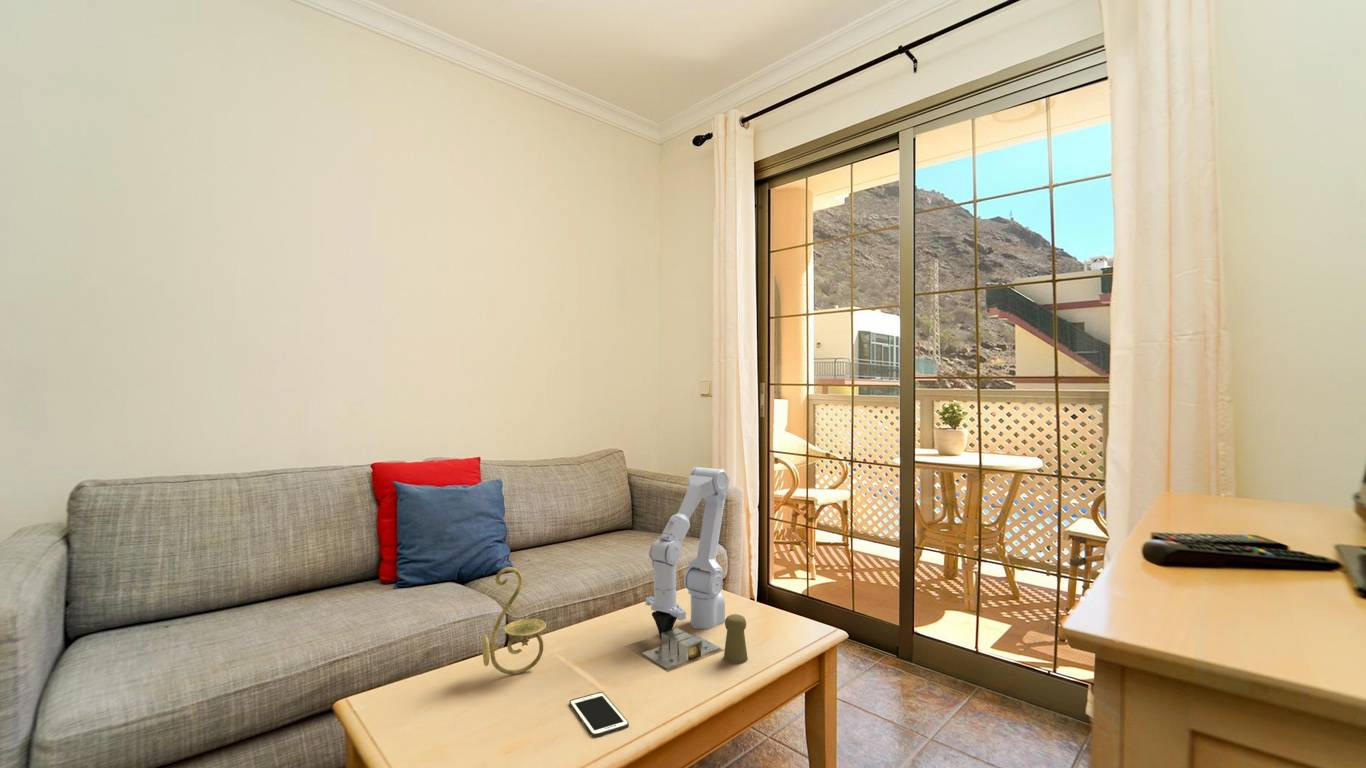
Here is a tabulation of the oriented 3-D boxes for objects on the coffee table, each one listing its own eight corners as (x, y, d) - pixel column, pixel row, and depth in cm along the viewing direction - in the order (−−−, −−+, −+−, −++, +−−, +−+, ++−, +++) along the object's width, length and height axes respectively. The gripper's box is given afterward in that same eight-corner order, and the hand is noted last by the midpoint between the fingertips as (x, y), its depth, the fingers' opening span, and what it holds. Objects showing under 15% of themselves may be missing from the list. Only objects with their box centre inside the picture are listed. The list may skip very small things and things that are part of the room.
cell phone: (602, 695, 127) (602, 690, 127) (630, 728, 115) (630, 723, 115) (568, 704, 124) (568, 700, 124) (593, 740, 111) (593, 735, 111)
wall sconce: (487, 690, 129) (487, 576, 129) (481, 672, 137) (481, 565, 138) (550, 676, 135) (550, 567, 135) (540, 659, 144) (540, 557, 144)
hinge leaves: (694, 636, 155) (694, 622, 155) (720, 649, 147) (720, 634, 147) (642, 654, 144) (642, 639, 144) (666, 669, 137) (666, 653, 137)
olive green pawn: (719, 664, 141) (719, 618, 141) (729, 654, 146) (729, 609, 147) (742, 669, 138) (742, 622, 138) (751, 659, 144) (751, 614, 144)
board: (679, 630, 161) (679, 627, 161) (724, 653, 147) (724, 650, 147) (624, 649, 149) (624, 645, 149) (667, 675, 135) (667, 671, 135)
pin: (664, 646, 149) (664, 635, 149) (673, 643, 151) (673, 632, 151) (689, 660, 141) (689, 648, 141) (698, 657, 143) (698, 645, 143)
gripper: (636, 583, 154) (636, 635, 154) (670, 598, 143) (670, 654, 143) (657, 577, 159) (657, 628, 159) (692, 591, 148) (692, 645, 147)
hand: (665, 640), depth 151 cm, fingers closed
